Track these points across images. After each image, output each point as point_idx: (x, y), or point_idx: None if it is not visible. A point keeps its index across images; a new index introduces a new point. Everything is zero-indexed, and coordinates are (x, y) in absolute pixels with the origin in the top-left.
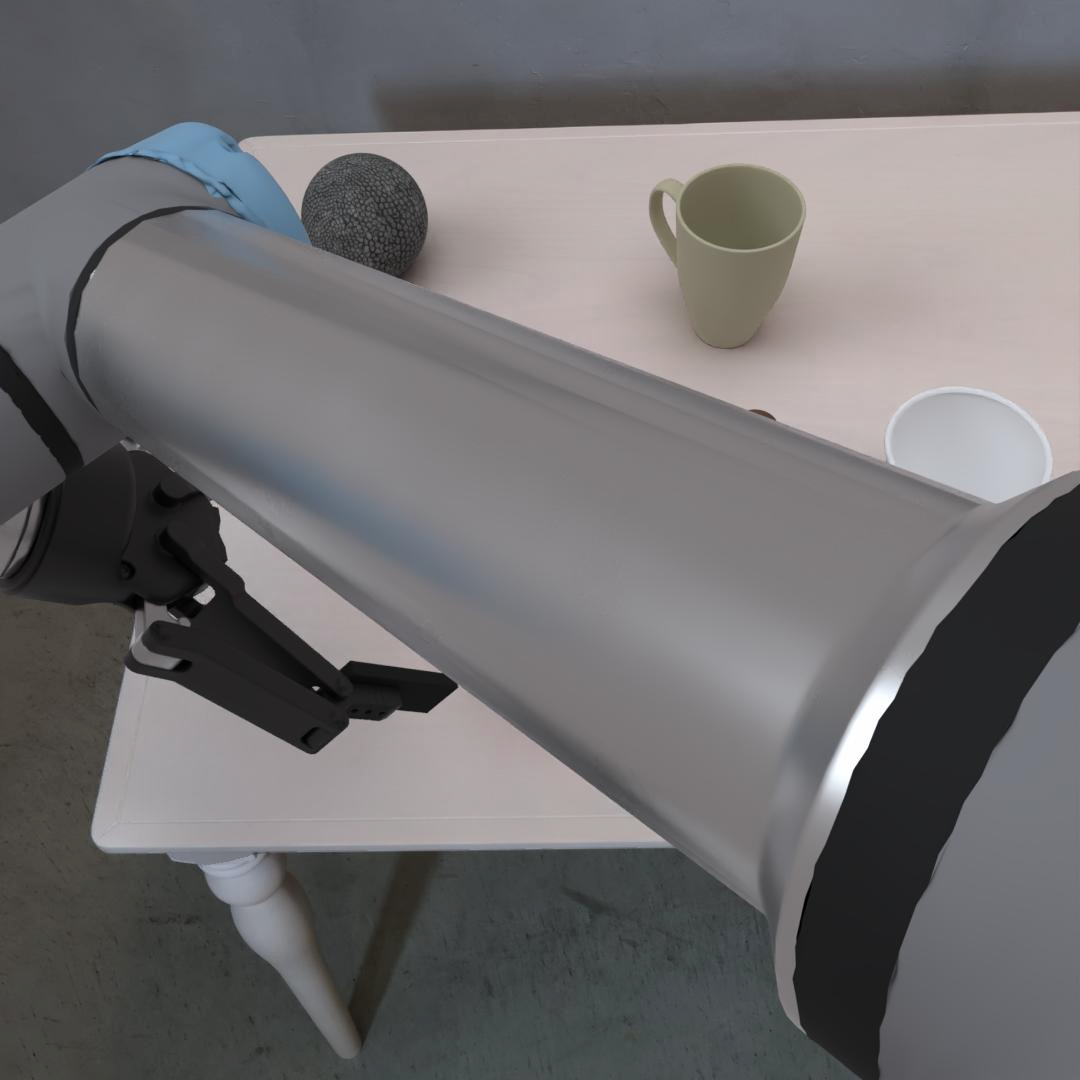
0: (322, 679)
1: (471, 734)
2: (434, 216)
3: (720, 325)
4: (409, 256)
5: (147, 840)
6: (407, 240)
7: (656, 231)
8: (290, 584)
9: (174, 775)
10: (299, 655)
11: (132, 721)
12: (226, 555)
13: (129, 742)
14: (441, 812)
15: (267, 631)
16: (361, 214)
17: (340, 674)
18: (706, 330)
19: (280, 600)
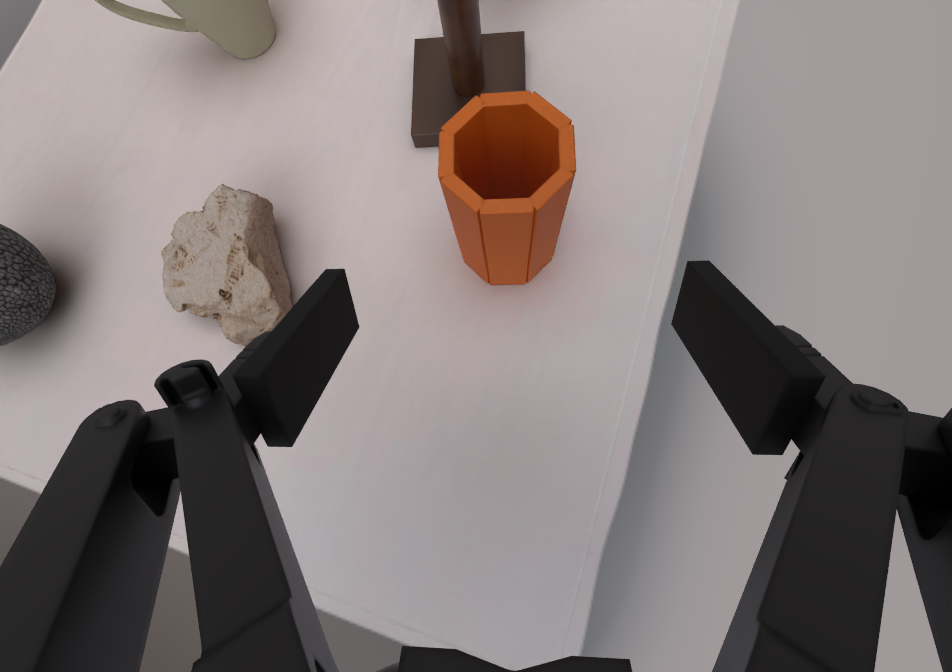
0: (904, 439)
1: (560, 334)
2: None
3: (253, 11)
4: (31, 253)
5: None
6: (4, 242)
7: (123, 13)
8: (357, 462)
9: (520, 618)
10: (881, 481)
11: None
12: (612, 661)
13: None
14: (624, 377)
15: (874, 564)
16: None
17: (840, 400)
18: (251, 35)
19: (370, 475)
